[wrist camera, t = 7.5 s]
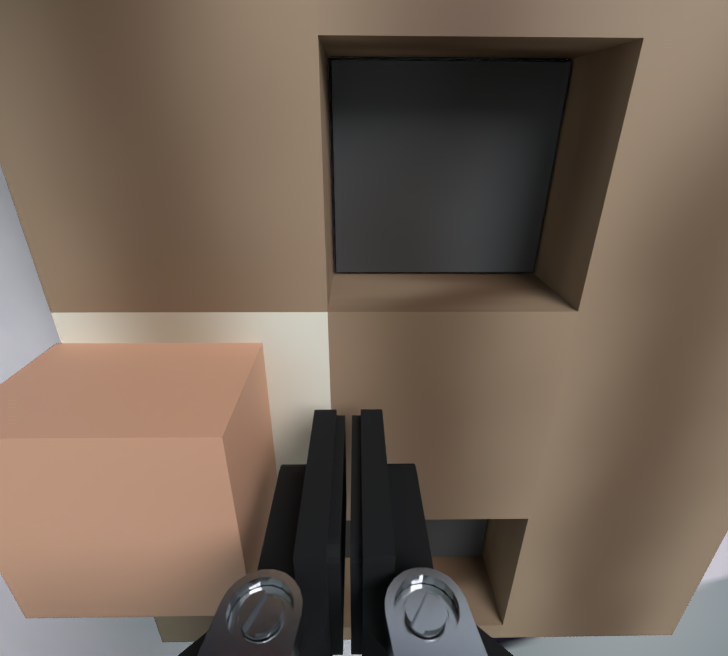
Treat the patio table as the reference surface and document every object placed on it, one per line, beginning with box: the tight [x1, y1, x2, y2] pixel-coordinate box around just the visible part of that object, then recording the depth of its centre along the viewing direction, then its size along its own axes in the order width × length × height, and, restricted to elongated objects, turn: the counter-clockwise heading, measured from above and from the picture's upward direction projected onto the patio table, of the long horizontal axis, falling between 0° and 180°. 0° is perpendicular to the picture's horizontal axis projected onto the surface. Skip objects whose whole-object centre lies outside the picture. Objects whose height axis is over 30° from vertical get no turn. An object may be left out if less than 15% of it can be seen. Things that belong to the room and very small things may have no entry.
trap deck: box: [0, 0, 728, 642], centre depth 13 cm, size 19×20×3 cm
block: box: [0, 343, 277, 618], centre depth 10 cm, size 5×5×4 cm
